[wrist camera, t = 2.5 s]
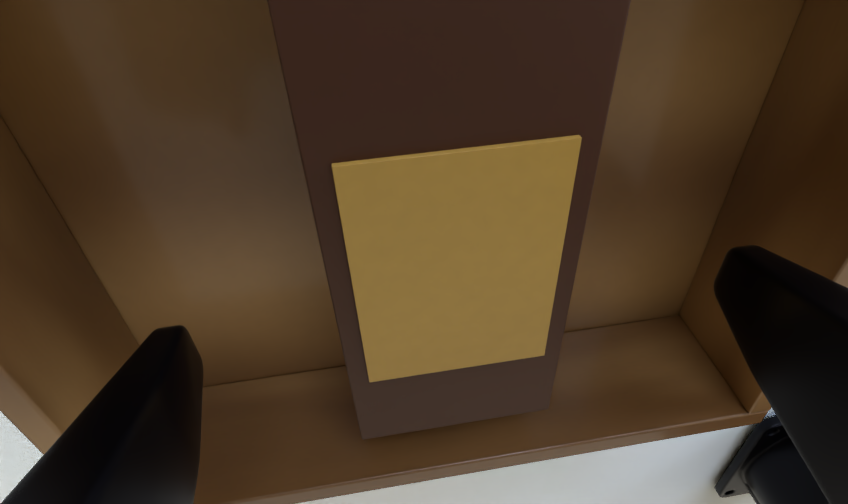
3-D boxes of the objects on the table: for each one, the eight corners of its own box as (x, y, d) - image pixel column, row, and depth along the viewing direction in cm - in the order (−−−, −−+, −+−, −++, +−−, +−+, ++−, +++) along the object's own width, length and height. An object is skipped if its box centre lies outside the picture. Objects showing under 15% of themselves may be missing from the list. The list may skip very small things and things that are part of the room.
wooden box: (681, 310, 17) (761, 423, 14) (157, 389, 16) (120, 535, 13) (909, -255, 9) (1242, -279, 6) (-208, -203, 7) (-603, -194, 4)
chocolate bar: (511, 310, 15) (550, 413, 13) (353, 333, 15) (361, 444, 12) (550, -87, 9) (644, -37, 6) (277, -67, 8) (264, -6, 6)
